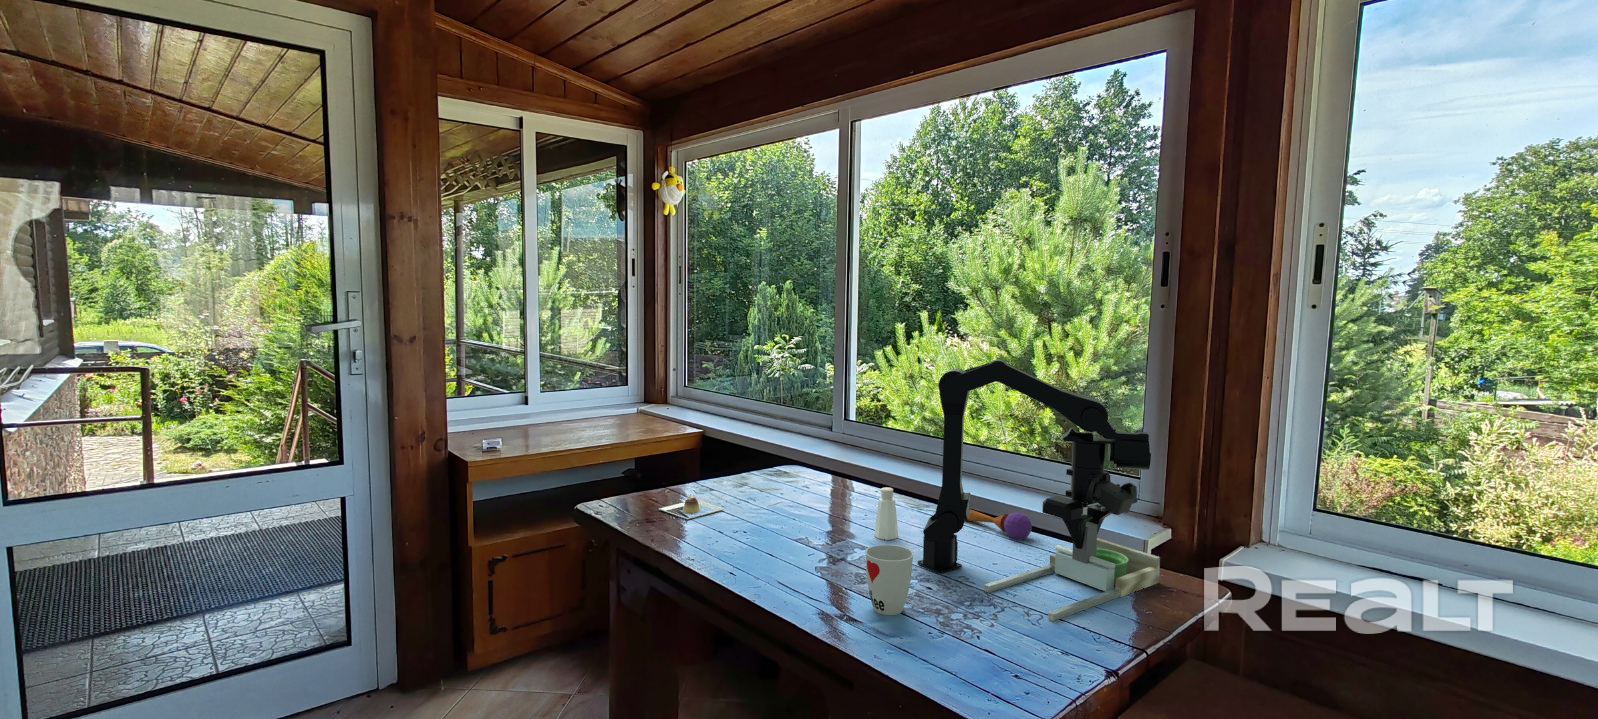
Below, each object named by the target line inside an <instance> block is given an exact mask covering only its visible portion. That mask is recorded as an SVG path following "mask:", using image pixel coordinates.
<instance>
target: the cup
mask: <svg viewBox="0 0 1598 719" xmlns="http://www.w3.org/2000/svg"><path fill="white" fill-rule="evenodd" d="M913 559H914V553H913V551H912V550H911V549H910V548H908V547H904V546H901V545H896V544H877V545H872V546H870V547H868V548H866V549H865V572H866V580H867V586H868V594H869V598H870V602H871V605H872V608H873V611H874V612H876V613H878V614H880V615H883V616H896V615H899V614H902V613H903V610H904V607H905V605H906V603H907V599H908V595H909V590H910V585H911V581H912V571H913V561H914V560H913Z"/></svg>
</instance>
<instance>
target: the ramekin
mask: <svg viewBox="0 0 1598 719" xmlns="http://www.w3.org/2000/svg"><path fill="white" fill-rule="evenodd" d="M1096 557H1097V558H1100V559H1103V560H1106V561H1109V562H1112V563H1114V564H1115V570H1114V586H1115V585H1116V578H1119V577H1122V576H1125V575H1127V574H1126V569H1127V565H1128V562H1129V559H1128V558H1127V557H1126V556H1125V555H1123V554H1121V553H1118V552H1115V551H1111V550H1107V549H1099V548H1097V550H1096Z"/></svg>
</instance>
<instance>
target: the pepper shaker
mask: <svg viewBox="0 0 1598 719" xmlns="http://www.w3.org/2000/svg"><path fill="white" fill-rule="evenodd" d="M880 491H881V492H880V495H881V496H880V498H879V499H878V502H877V509H876V510H877V511H876V518H875V527H874V537H876V538H877V539H878V538H879V540H884V539H885V541H890V540H891V539H892V540H896V539H897V538H898V537H899V530H898V528H899V527H898V519H897V518H898V516H897V506H896V505H897V504H896V500H895V499H894V498H893V496H894V488H892V487H887V486H886V487H882V488H881V489H880Z"/></svg>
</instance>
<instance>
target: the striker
mask: <svg viewBox="0 0 1598 719" xmlns="http://www.w3.org/2000/svg"><path fill="white" fill-rule="evenodd" d="M1097 525H1098V524H1094V523H1091V522H1087V523H1086V527H1085V534H1084V542H1083V546H1082V549H1078V548H1076V547H1075V544H1074V542H1073V541H1072V548H1069V547H1067V546H1064V545H1060V544H1056V545H1055V548H1054V549H1055V551H1056V552H1055V553H1054V554H1055V572H1054V573H1056V574H1058V575H1061V576H1063V577H1065V578H1069V579H1072V580H1074V581H1076V582H1080V583H1081V584H1086V585H1087V586H1090V587H1093V588H1095V589H1098V590H1101V591H1103V592H1106V591H1109V590H1112V589H1115V585H1114V570H1115V564H1114V563H1112V562H1109V561H1106V560H1103V559H1100V558H1097V557H1096V550H1097V538H1098V534H1097Z"/></svg>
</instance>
